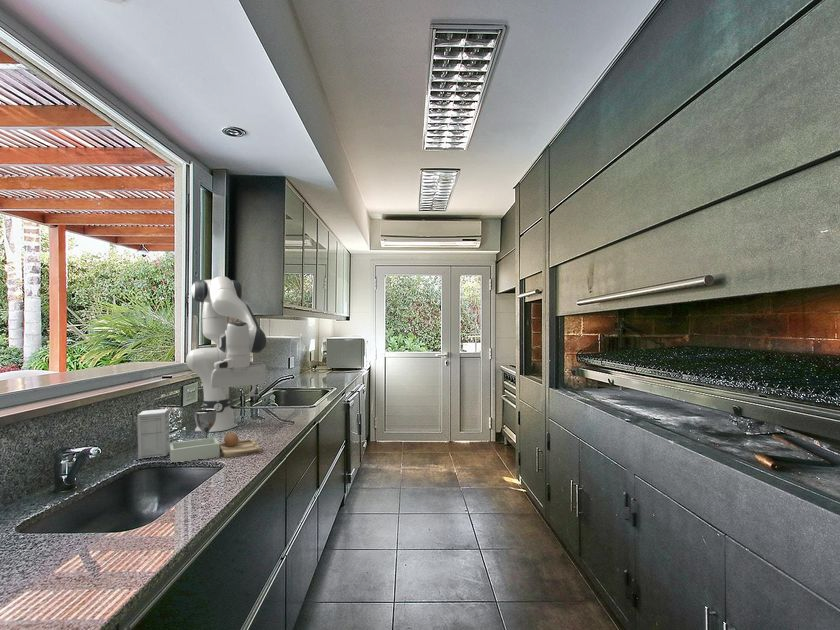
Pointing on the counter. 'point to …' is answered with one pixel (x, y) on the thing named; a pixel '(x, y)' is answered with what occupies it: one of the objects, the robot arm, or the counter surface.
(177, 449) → the bin
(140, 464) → the counter surface
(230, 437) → the egg
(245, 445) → the tray
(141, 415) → the supplement box
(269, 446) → the counter surface
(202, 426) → the wine glass
